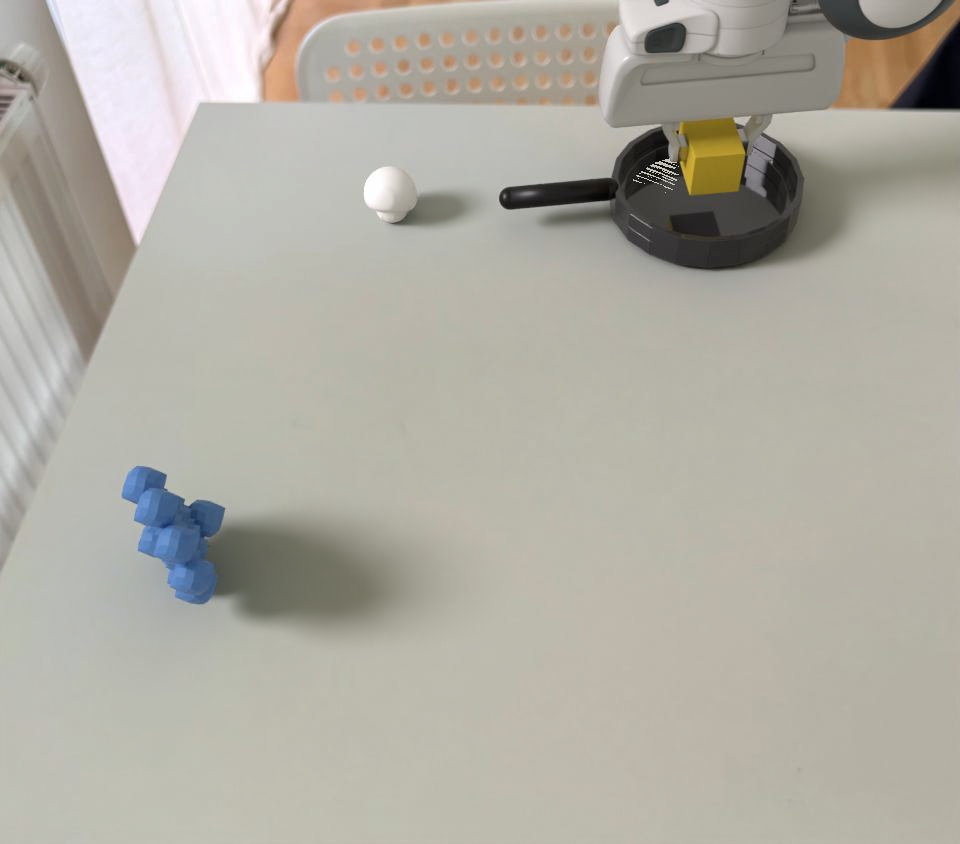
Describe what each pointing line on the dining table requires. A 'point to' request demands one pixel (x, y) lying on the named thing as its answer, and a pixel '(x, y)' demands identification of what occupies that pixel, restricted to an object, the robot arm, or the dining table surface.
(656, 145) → the pan
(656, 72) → the robot arm
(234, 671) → the dining table surface
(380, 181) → the mushroom
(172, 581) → the grapes
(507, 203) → the pan handle
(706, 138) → the yellow block
